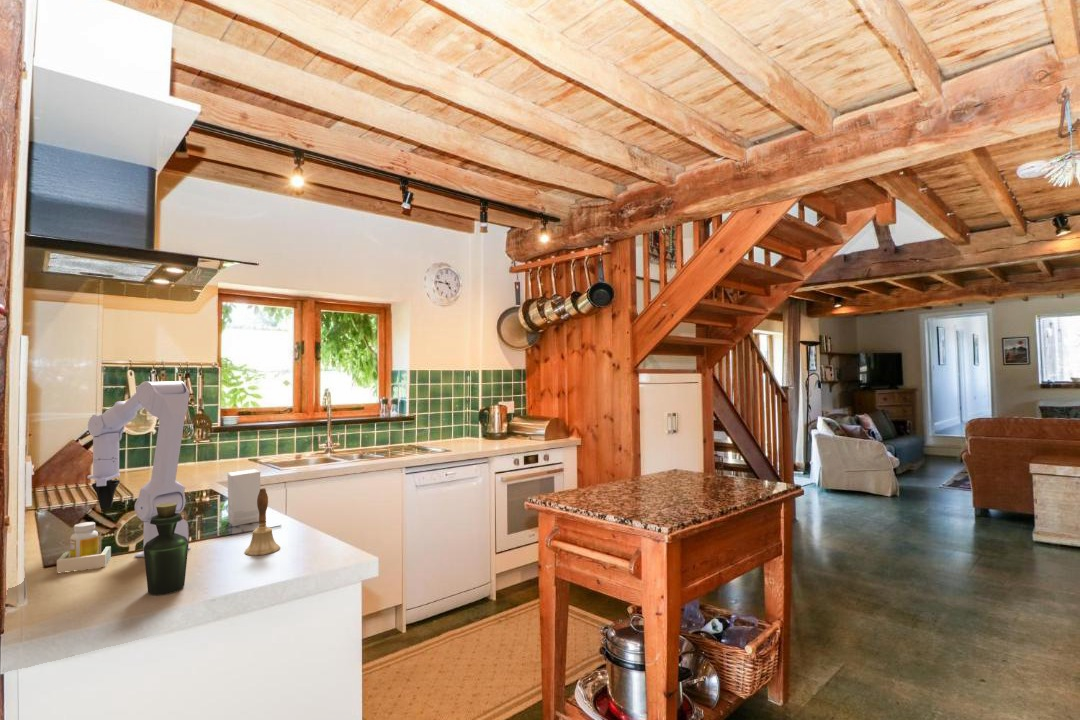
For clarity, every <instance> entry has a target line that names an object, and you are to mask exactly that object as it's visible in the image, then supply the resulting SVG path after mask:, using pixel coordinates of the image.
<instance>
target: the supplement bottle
mask: <svg viewBox="0 0 1080 720" xmlns="http://www.w3.org/2000/svg"><path fill="white" fill-rule="evenodd" d="M95 529H96V522H94V521H87V522H86V521H85V522H80V523H76V524H74V526H73V531H74V533H72V535H70V540H69V542H70V543H69V551H70V558H74V557H82V556H89V555H97V554H99V532H98V531H97V530H95Z"/></svg>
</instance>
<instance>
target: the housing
mask: <svg viewBox="0 0 1080 720" xmlns="http://www.w3.org/2000/svg"><path fill="white" fill-rule="evenodd" d="M111 555H112V546H109V545H108V546H105V548H104V549H103V551H102V552H101V553H98V554H97V555H89V556H82V557H74V558H70V550H69V551H64V552H63V553H62V555H61V556H60V557H59V558H57V560H56V573H57V572H65V571H74V570H81V571H86V569H88V570H94V569H93V568H95V569H102V568H101V567H103V568H106V567H107V565H108V564H109V562H110V561H111V559H112V556H111ZM110 558H111V559H110ZM108 561H109V562H108ZM107 563H108V564H107ZM74 572H75V571H74Z"/></svg>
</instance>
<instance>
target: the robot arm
mask: <svg viewBox="0 0 1080 720" xmlns="http://www.w3.org/2000/svg"><path fill="white" fill-rule="evenodd" d="M135 391H136V392H135V393H134V394H133V395H132V396H131V397H129V398H128V400H127V401H122V400H119V401H116V402H115V403H114V405H113V406H111V407H110V408H108V409H106V410H104V411H105V412H103V413H102V414H92V415H91V416H90V417H89V419H88V423H87V431H88V433H89V434H90V435H91V437H92V474H91V475H90V474H89V475H87V479H88V480H90V479H91V480H94V481H95V482H94V483H92V484H91V487H92V489H93V491H94V492H95V494H96V496H97V499H98V504H99V507H100V510H105V509H107V510H109V509H111V508H112V506H113V502H114V497H115V493H116V490H117V487H118V485H119V483H120V481H121V480H120V479H116V478H119V477H120V476H121V473H120V441H122V438H123V432H124V431H125V426H126V425H127V424H129V423H130V422H132V421H133V420H135V419H136V417H137V415H138V412H139V411H140V410H142V409H143V408H144V409H145V410H146V411H147V412H148V413H149V414H150V415H151V416H152V417H156V418H157V419H158V421H159V422H158V423H159V424H158V430H157V437H156V443H155V450H154V457H153V463H152V470H151V478H150V480H149V481H148V482H147V483H146V484H145V485H143V486H142V487H141V488H140V489H139V492H138V493H139V494H138V497H137V498H136V500H135V503H134V513H135V515H136V517H138V518H139V520H140V521H142V522H143V547H144V546H145V544H146V543H147V542H148V541H150V540H151V539H153V538H154V537H156V536H158V535H159V534H158V531H157V527H156V525H154V524H150V521H151V518H152V517H153V516H156V515H158V513H157V509H156V506H157V505H159V504H164V503H177V507H176V511H175V513H180V514H181V512H183V510H184V508H185V506H186V502H187V501H186V499H187V498H186V496H185V495H186V494H185V489H186V487H185V486H184V485H183V484H182V483H181V482H179V481H178V480H176V478H177V474H178V466H179V461H180V460H179V458H180V452H181V446H182V440H183V433H184V425H185V420H186V414H187V413H188V407H189V400H190V394H191V393H190V392H191V391H190V390H189V389H188V387H187V385H186V383H185V382H184V381H182V380H175V381H173V380H171V381H147V380H146V381H143V382H141V383H140V384H138V385H137V387H136V390H135ZM113 479H114V480H113ZM174 533H177V534H179V535H182V536H185V537H186V538H187V540H188V541H189V523H188V521H187V520H186V519H184V518H182V520H181V521H179V522H177V525H176V528H175V532H174ZM191 548H192V547H191V546H188V550H191ZM134 557H135V558H144V550H143V551H141V552H139V553H135V554H134Z"/></svg>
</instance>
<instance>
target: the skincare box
mask: <svg viewBox="0 0 1080 720" xmlns="http://www.w3.org/2000/svg"><path fill="white" fill-rule="evenodd" d="M260 489H261V471H259V470H257V469H253V468H252V469H247V470H239V471H234V472H233V471H231V472H230V471H229V472H227V514H228V515H227V518H228V519H227V520H228V521H227V522H228V523H229V524H230V526H232V527H236V526H242V525H247V524H253V523H259V510H258V507H257V498H258V494H259V492H260Z"/></svg>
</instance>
